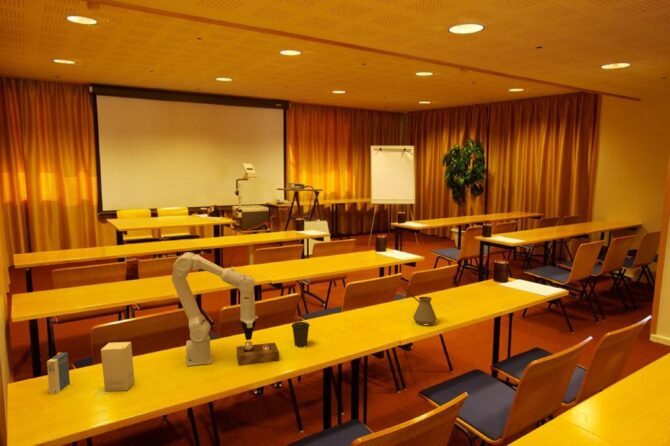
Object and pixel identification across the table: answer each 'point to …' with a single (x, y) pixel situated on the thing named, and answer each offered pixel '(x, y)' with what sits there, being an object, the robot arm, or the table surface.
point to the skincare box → (117, 366)
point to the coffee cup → (300, 333)
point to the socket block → (257, 354)
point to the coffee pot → (423, 310)
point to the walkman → (58, 373)
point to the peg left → (248, 346)
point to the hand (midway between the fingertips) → (248, 339)
